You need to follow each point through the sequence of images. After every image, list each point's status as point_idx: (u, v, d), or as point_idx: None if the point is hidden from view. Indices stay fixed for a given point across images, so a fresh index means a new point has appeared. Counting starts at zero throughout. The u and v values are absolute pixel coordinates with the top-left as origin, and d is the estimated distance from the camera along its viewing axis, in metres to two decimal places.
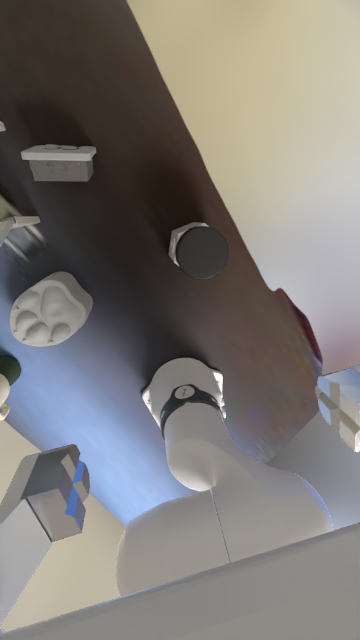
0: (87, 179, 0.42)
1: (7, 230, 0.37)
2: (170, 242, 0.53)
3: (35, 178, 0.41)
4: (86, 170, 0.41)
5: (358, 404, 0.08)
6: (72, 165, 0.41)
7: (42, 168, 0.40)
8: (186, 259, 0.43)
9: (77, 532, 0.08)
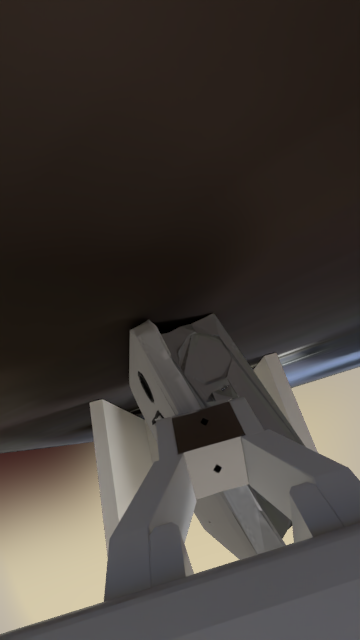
0: None
1: None
2: None
3: None
4: None
5: (214, 445, 0.07)
6: None
7: None
8: None
9: (219, 490, 0.08)
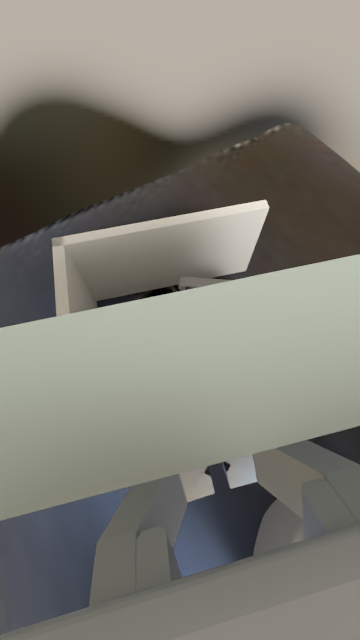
0: None
1: None
2: None
3: None
4: None
5: None
6: None
7: None
8: None
9: (210, 493, 0.08)
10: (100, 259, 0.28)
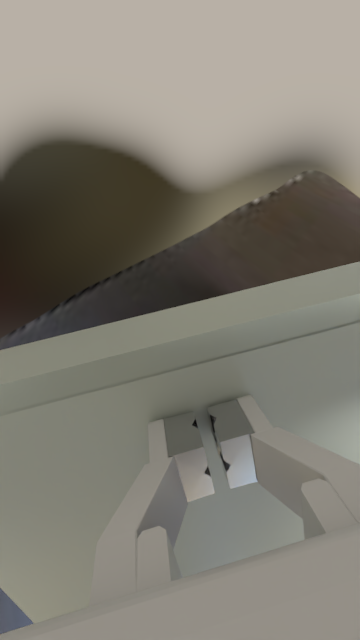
0: None
1: None
2: None
3: None
4: None
5: (223, 443, 0.07)
6: None
7: None
8: None
9: (210, 493, 0.08)
10: None
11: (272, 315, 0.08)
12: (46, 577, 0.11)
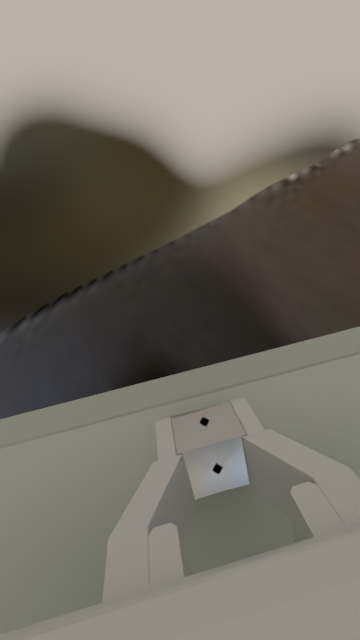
0: None
1: None
2: None
3: None
4: None
5: (214, 445, 0.07)
6: None
7: None
8: None
9: (218, 490, 0.08)
10: None
11: (256, 353, 0.11)
12: None
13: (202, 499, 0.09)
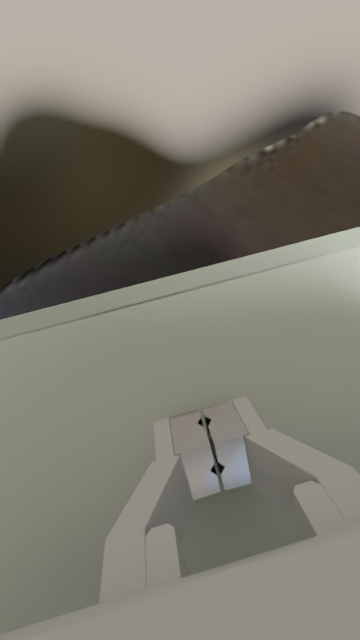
0: None
1: None
2: None
3: None
4: None
5: (217, 444, 0.07)
6: None
7: None
8: None
9: (216, 491, 0.08)
10: None
11: (203, 267, 0.13)
12: None
13: (151, 374, 0.11)
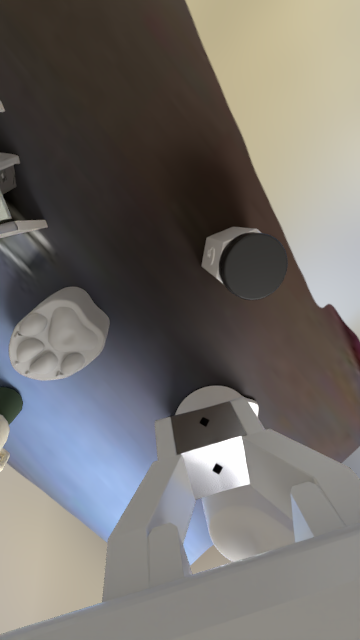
0: None
1: None
2: (204, 251, 0.44)
3: None
4: None
5: (215, 445, 0.07)
6: None
7: None
8: (235, 275, 0.34)
9: (218, 490, 0.08)
10: None
11: None
12: None
13: None
